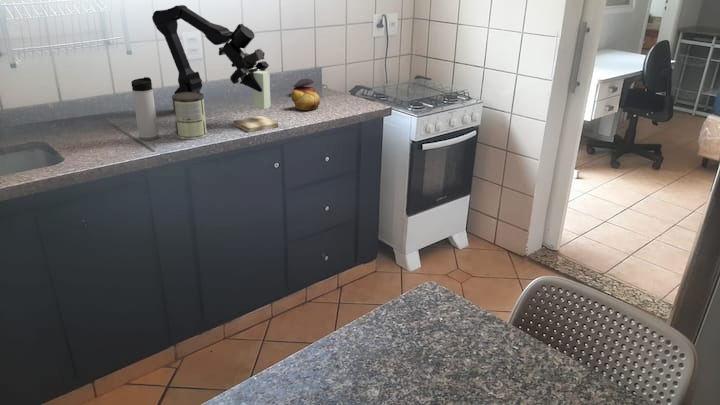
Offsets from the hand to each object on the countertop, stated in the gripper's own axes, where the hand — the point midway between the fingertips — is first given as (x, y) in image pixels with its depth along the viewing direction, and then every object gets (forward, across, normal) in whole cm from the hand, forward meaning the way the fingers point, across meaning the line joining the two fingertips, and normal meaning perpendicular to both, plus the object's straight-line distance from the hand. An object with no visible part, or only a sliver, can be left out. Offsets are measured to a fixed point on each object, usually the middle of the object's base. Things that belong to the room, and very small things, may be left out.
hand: (264, 90), depth 201 cm
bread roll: (+12, +27, +6) cm, 30 cm away
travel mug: (-9, -34, +27) cm, 44 cm away
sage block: (+4, 0, +6) cm, 7 cm away
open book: (+8, -5, +10) cm, 13 cm away
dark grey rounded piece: (+3, +48, +15) cm, 51 cm away
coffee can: (-2, -25, +20) cm, 32 cm away
